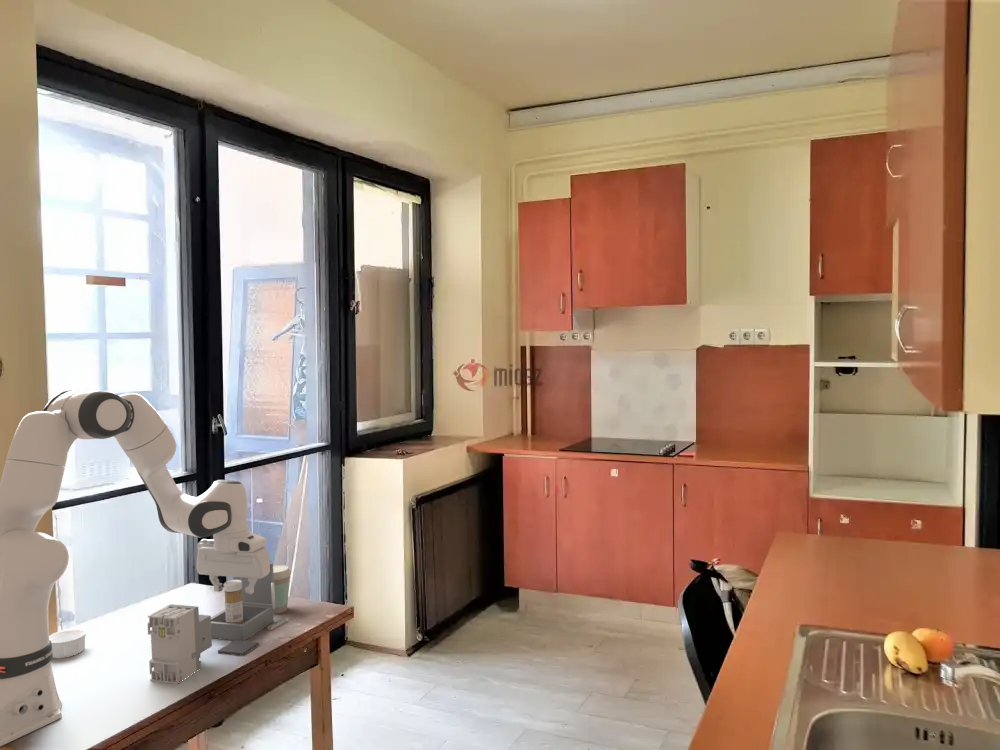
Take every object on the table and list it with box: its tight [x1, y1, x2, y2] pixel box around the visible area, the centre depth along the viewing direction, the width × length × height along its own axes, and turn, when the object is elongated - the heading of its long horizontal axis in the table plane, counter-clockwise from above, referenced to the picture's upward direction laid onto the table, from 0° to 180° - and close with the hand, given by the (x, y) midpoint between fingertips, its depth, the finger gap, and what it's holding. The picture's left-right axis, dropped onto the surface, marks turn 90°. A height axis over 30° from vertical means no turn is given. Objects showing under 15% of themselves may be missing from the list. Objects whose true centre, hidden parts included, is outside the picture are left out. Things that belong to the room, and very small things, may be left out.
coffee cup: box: [273, 564, 292, 615], centre depth 225 cm, size 8×8×12 cm
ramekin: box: [49, 628, 87, 659], centre depth 199 cm, size 9×9×4 cm
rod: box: [266, 617, 289, 631], centre depth 214 cm, size 7×1×1 cm, turn 157°
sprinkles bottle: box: [223, 579, 244, 624], centre depth 210 cm, size 5×5×13 cm
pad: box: [217, 640, 260, 656], centre depth 199 cm, size 7×7×1 cm
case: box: [211, 562, 275, 641], centre depth 212 cm, size 15×13×16 cm
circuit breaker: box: [147, 603, 213, 685], centre depth 187 cm, size 8×14×15 cm, turn 164°
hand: (234, 592), depth 210 cm, fingers open, 8 cm apart
